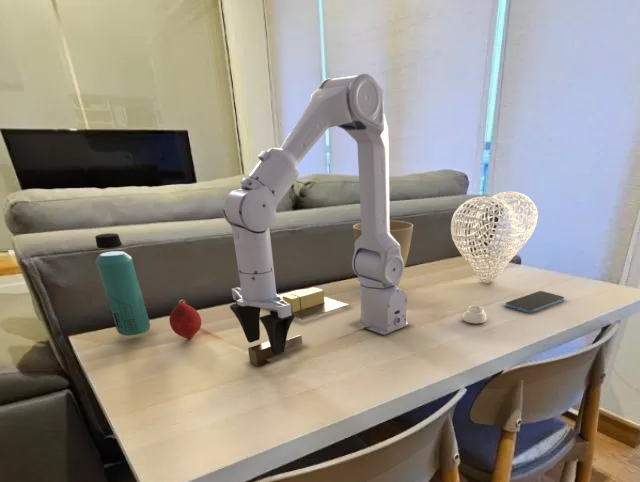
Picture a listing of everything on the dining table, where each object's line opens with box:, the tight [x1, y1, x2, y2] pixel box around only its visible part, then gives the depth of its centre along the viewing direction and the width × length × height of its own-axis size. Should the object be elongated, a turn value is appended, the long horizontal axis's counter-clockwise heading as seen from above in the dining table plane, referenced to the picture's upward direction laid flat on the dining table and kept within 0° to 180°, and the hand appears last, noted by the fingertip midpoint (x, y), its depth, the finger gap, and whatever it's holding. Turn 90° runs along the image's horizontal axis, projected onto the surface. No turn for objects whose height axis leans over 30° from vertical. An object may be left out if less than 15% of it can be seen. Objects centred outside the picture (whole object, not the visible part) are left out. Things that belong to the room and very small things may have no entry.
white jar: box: [462, 305, 488, 325], centre depth 100 cm, size 5×3×5 cm
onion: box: [168, 299, 202, 340], centre depth 91 cm, size 6×6×8 cm
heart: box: [450, 190, 539, 284], centre depth 121 cm, size 28×16×22 cm, turn 139°
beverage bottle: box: [94, 232, 152, 336], centre depth 89 cm, size 6×7×20 cm
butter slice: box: [282, 294, 300, 312], centre depth 104 cm, size 4×2×3 cm, turn 46°
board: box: [278, 289, 350, 321], centre depth 109 cm, size 18×14×1 cm
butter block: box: [291, 286, 325, 310], centre depth 107 cm, size 4×7×3 cm, turn 136°
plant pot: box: [352, 220, 414, 288], centre depth 118 cm, size 15×15×16 cm
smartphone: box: [504, 290, 565, 314], centre depth 110 cm, size 7×1×15 cm
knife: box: [247, 334, 303, 368], centre depth 85 cm, size 11×2×3 cm, turn 136°
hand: (265, 346), depth 82 cm, fingers open, 7 cm apart
